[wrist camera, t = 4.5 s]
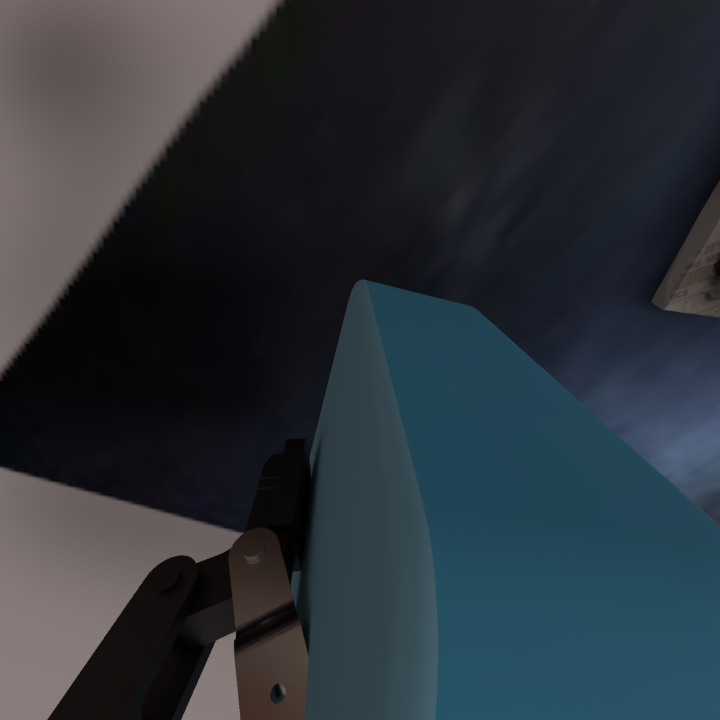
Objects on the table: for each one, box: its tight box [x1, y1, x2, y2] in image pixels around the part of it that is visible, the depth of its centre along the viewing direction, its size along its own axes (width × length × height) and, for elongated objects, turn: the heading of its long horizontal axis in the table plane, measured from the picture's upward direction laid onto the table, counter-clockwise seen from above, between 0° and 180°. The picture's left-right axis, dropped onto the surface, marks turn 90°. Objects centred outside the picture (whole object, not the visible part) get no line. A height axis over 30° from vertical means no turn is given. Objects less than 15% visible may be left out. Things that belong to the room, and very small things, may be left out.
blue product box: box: [291, 280, 720, 720], centre depth 10 cm, size 12×4×12 cm, turn 166°
